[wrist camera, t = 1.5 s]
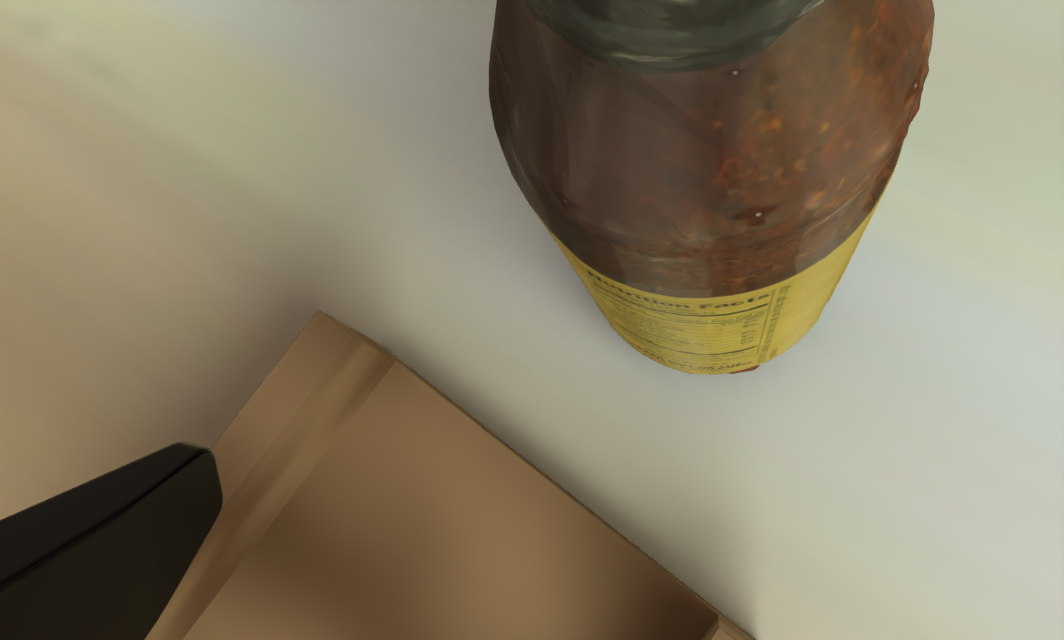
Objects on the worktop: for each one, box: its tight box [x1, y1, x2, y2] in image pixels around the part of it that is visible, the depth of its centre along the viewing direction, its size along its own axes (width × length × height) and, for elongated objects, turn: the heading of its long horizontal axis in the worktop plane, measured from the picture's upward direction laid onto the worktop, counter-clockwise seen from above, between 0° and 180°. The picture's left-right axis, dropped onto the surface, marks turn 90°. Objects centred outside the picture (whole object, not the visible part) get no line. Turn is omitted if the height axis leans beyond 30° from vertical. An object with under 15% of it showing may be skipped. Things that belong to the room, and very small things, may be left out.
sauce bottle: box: [489, 0, 935, 374], centre depth 14 cm, size 7×6×20 cm
